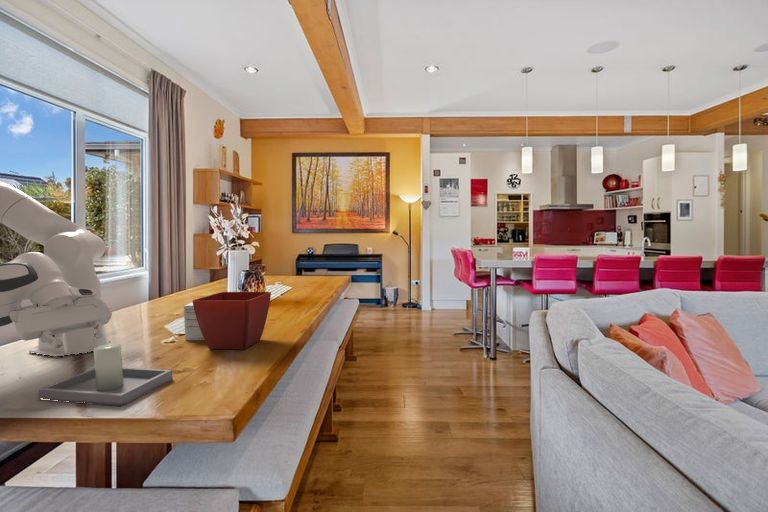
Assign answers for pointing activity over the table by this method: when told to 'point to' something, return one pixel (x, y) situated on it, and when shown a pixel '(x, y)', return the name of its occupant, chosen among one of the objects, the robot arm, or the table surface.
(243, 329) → the plant pot
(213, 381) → the table surface
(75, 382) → the grey tray
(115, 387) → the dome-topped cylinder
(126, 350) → the table surface
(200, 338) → the supplement box
